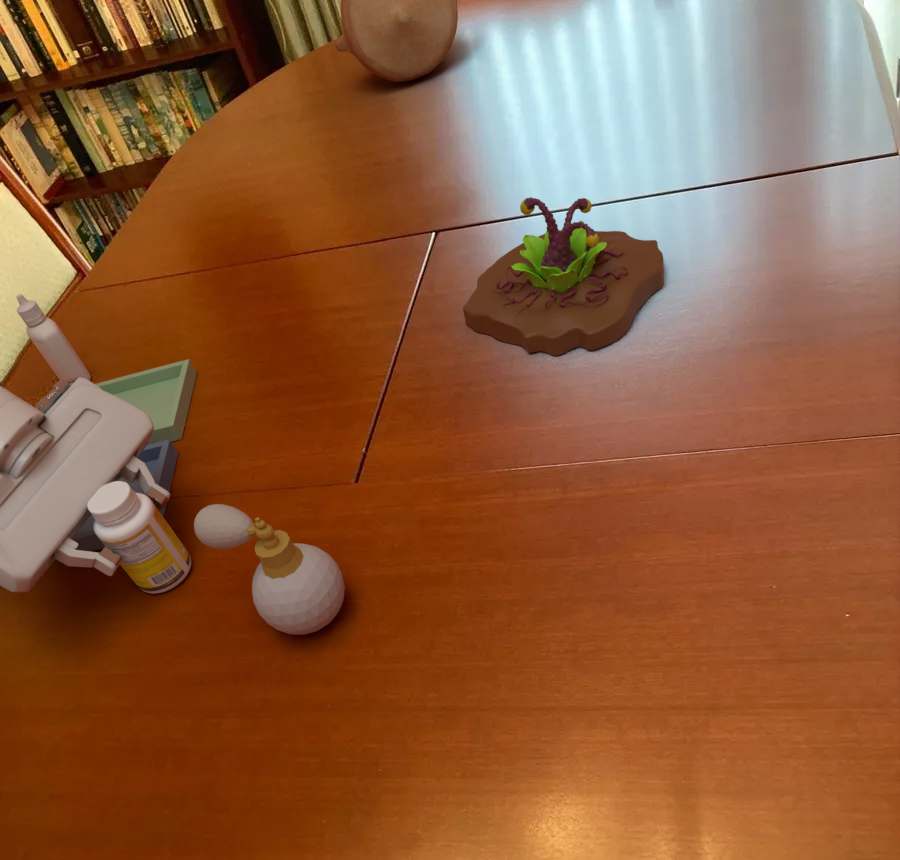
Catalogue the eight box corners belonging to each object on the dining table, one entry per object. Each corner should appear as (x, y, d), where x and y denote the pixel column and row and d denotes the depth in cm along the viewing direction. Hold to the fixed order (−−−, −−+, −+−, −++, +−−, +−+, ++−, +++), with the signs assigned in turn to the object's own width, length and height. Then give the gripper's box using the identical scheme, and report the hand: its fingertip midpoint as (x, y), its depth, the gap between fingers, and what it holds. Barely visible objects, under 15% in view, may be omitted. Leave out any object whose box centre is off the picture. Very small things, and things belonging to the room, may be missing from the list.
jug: (321, 40, 136) (302, 18, 158) (420, 117, 145) (388, 87, 168) (393, -93, 128) (361, -95, 150) (492, -1, 138) (448, -17, 160)
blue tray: (44, 562, 89) (32, 548, 87) (73, 479, 97) (62, 466, 95) (159, 535, 87) (149, 521, 85) (178, 453, 95) (169, 439, 94)
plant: (535, 239, 105) (517, 144, 97) (689, 256, 94) (684, 151, 86) (441, 338, 96) (412, 243, 88) (598, 368, 86) (583, 264, 78)
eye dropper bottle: (59, 397, 109) (-2, 313, 101) (62, 373, 113) (4, 291, 104) (91, 385, 109) (34, 300, 100) (93, 362, 113) (38, 278, 104)
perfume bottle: (353, 642, 71) (298, 541, 63) (242, 662, 73) (173, 567, 64) (357, 574, 76) (306, 472, 67) (253, 594, 78) (190, 497, 69)
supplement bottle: (159, 549, 85) (102, 471, 78) (204, 555, 83) (150, 475, 76) (127, 592, 82) (65, 516, 75) (173, 600, 80) (114, 522, 73)
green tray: (78, 465, 99) (67, 451, 97) (101, 397, 107) (92, 384, 105) (181, 439, 97) (172, 425, 95) (197, 372, 105) (189, 358, 103)
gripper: (66, 387, 83) (194, 471, 87) (-81, 546, 72) (72, 635, 76) (73, 348, 78) (209, 438, 81) (-84, 513, 67) (80, 609, 70)
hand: (142, 534), depth 78 cm, fingers open, 6 cm apart
